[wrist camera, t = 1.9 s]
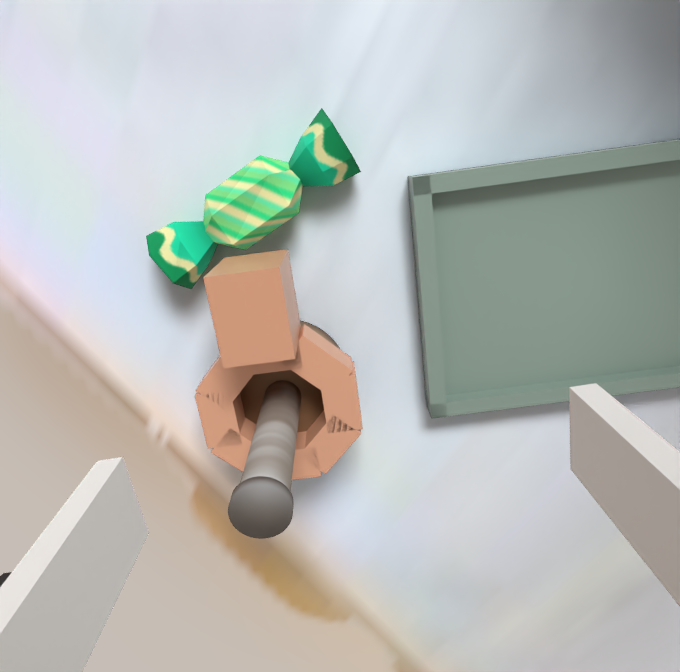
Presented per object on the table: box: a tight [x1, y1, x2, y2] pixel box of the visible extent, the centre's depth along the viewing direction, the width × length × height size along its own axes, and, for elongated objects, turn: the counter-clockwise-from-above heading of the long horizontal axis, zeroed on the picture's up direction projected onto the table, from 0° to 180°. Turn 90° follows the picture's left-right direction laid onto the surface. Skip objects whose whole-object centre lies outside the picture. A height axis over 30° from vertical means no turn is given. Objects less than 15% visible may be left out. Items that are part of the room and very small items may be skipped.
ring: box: [195, 249, 362, 480], centre depth 28 cm, size 9×13×5 cm
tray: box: [408, 139, 680, 418], centre depth 31 cm, size 20×15×2 cm
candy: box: [146, 108, 361, 289], centre depth 28 cm, size 12×3×4 cm
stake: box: [228, 321, 340, 538], centre depth 27 cm, size 8×8×14 cm
